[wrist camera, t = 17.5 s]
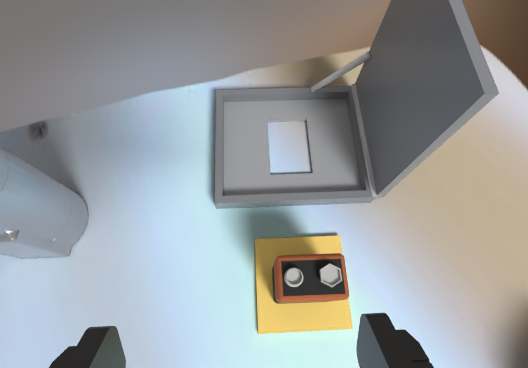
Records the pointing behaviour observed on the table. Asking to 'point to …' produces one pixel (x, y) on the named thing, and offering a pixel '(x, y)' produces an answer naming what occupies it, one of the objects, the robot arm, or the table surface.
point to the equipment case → (359, 114)
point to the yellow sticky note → (295, 314)
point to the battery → (309, 278)
